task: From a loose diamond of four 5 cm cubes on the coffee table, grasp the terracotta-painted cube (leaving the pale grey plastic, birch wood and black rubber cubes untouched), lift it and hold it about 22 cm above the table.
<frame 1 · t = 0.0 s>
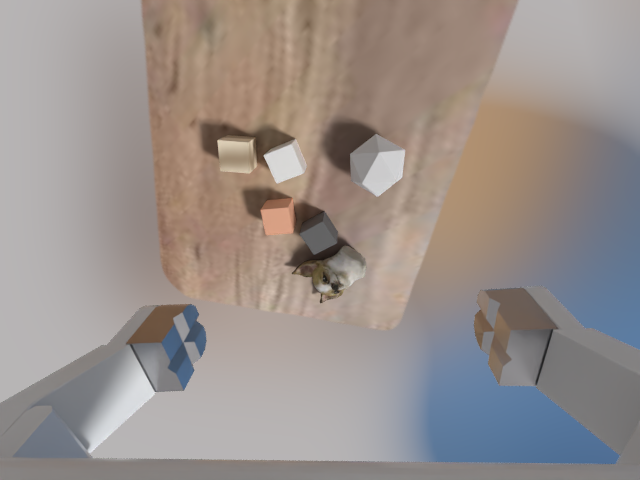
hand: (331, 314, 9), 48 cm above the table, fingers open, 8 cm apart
birch cube: (242, 150, 55), on the table
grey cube: (288, 157, 55), on the table
terracotta cube: (281, 211, 60), on the table
black cube: (320, 227, 61), on the table
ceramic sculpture: (334, 264, 65), on the table
die: (374, 160, 54), on the table
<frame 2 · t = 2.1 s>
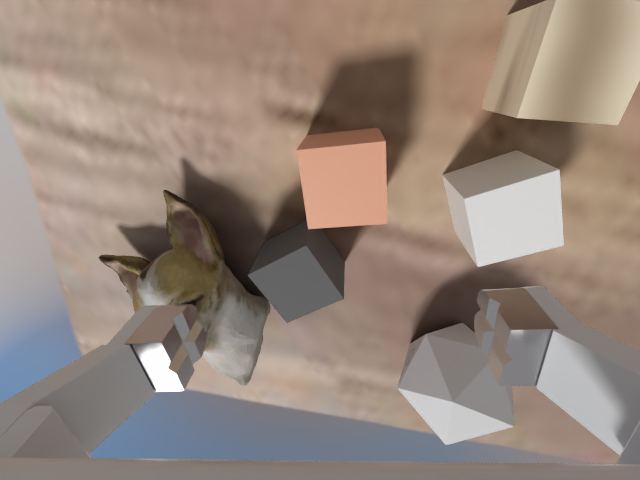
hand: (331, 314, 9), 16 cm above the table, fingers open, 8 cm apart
birch cube: (534, 67, 19), on the table
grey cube: (483, 194, 23), on the table
terracotta cube: (345, 166, 23), on the table
black cube: (304, 251, 27), on the table
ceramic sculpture: (212, 271, 29), on the table
die: (442, 341, 30), on the table
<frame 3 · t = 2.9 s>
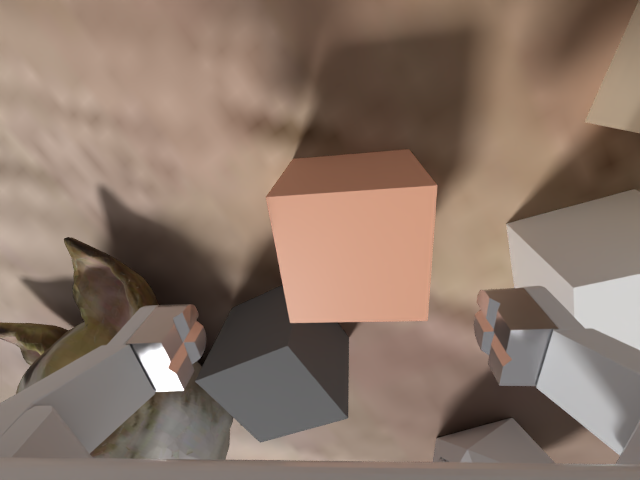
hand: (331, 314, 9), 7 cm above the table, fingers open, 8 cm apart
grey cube: (567, 253, 15), on the table
terracotta cube: (352, 207, 15), on the table
black cube: (291, 322, 18), on the table
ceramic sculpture: (162, 338, 20), on the table
die: (480, 437, 22), on the table
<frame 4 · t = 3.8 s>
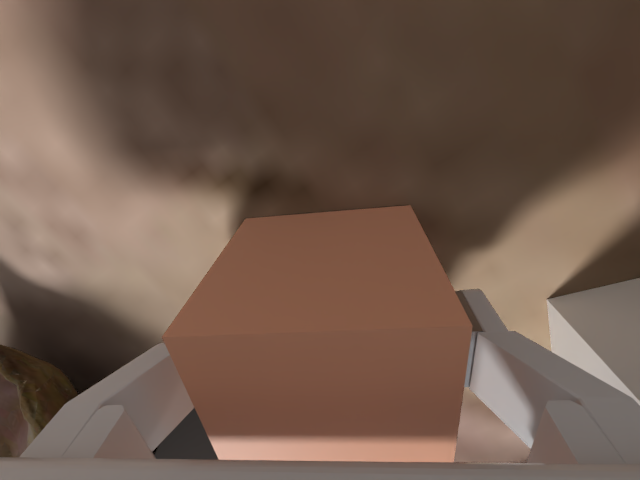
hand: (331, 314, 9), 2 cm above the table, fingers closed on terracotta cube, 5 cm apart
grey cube: (629, 334, 11), on the table
terracotta cube: (333, 280, 11), on the table, touching gripper
black cube: (261, 410, 14), on the table
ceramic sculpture: (101, 423, 16), on the table
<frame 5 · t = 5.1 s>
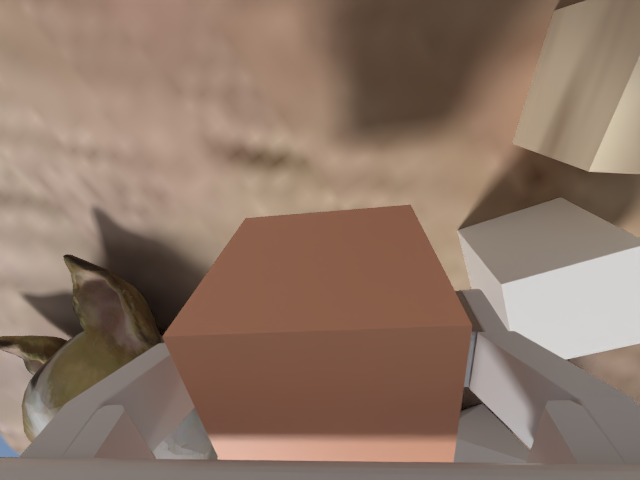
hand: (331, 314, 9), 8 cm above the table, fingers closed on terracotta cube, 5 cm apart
birch cube: (590, 85, 13), on the table
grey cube: (512, 253, 17), on the table
terracotta cube: (333, 280, 11), point 6 cm above the table, touching gripper
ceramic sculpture: (156, 344, 22), on the table
die: (456, 423, 24), on the table
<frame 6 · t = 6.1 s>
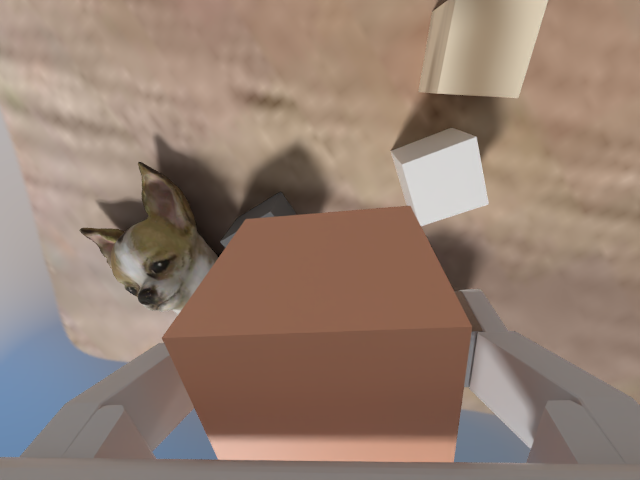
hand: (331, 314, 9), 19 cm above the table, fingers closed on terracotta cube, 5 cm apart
birch cube: (459, 55, 23), on the table
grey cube: (427, 167, 26), on the table
terracotta cube: (333, 281, 11), point 18 cm above the table, touching gripper
black cube: (274, 226, 29), on the table
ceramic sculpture: (188, 243, 31), on the table
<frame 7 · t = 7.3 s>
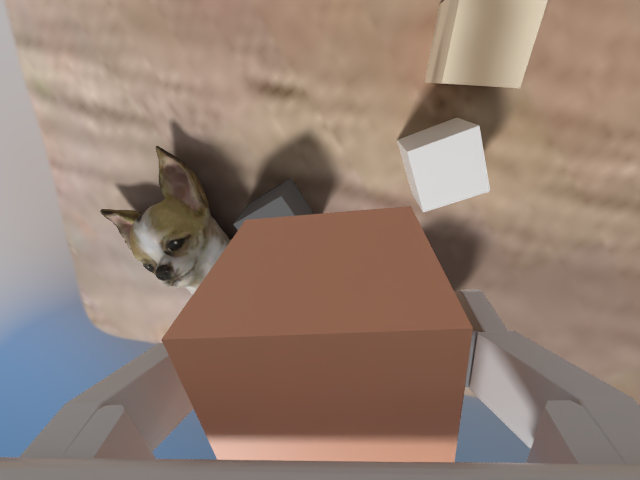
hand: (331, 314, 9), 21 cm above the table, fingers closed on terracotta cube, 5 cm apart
birch cube: (464, 47, 23), on the table
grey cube: (432, 156, 27), on the table
terracotta cube: (333, 281, 10), point 19 cm above the table, touching gripper
black cube: (284, 211, 31), on the table
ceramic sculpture: (200, 226, 32), on the table
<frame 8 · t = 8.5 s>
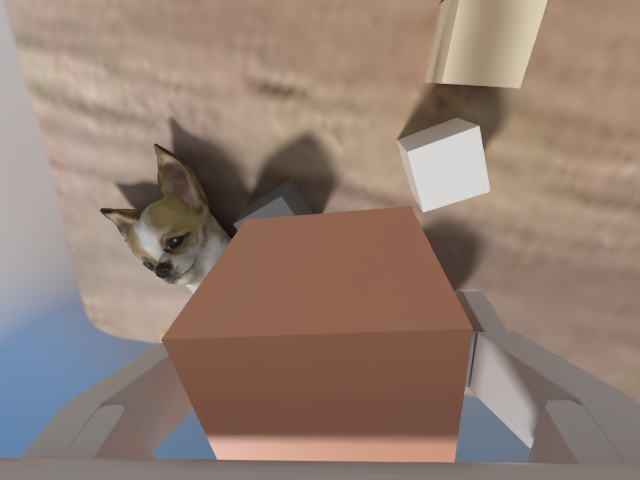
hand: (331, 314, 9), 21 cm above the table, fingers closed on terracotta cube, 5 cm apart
birch cube: (464, 47, 23), on the table
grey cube: (432, 156, 27), on the table
terracotta cube: (333, 281, 10), point 19 cm above the table, touching gripper
black cube: (284, 211, 31), on the table
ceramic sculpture: (200, 224, 32), on the table
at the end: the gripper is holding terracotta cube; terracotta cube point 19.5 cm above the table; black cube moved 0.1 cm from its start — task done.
